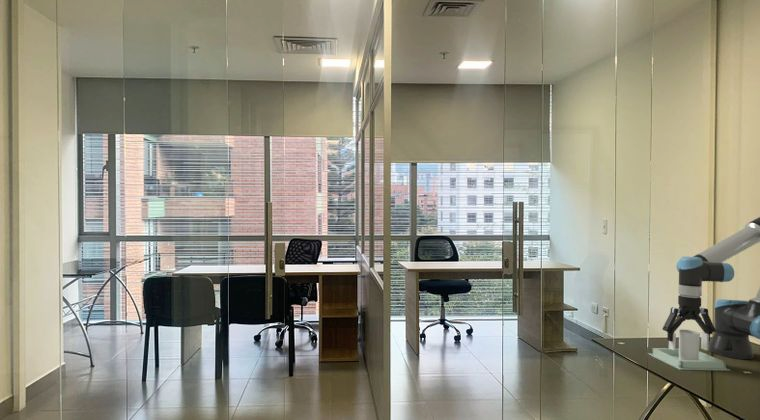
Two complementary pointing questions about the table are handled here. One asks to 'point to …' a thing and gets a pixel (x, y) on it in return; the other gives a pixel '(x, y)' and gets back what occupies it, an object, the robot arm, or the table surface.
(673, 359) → the tray
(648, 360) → the table surface
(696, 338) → the mug
